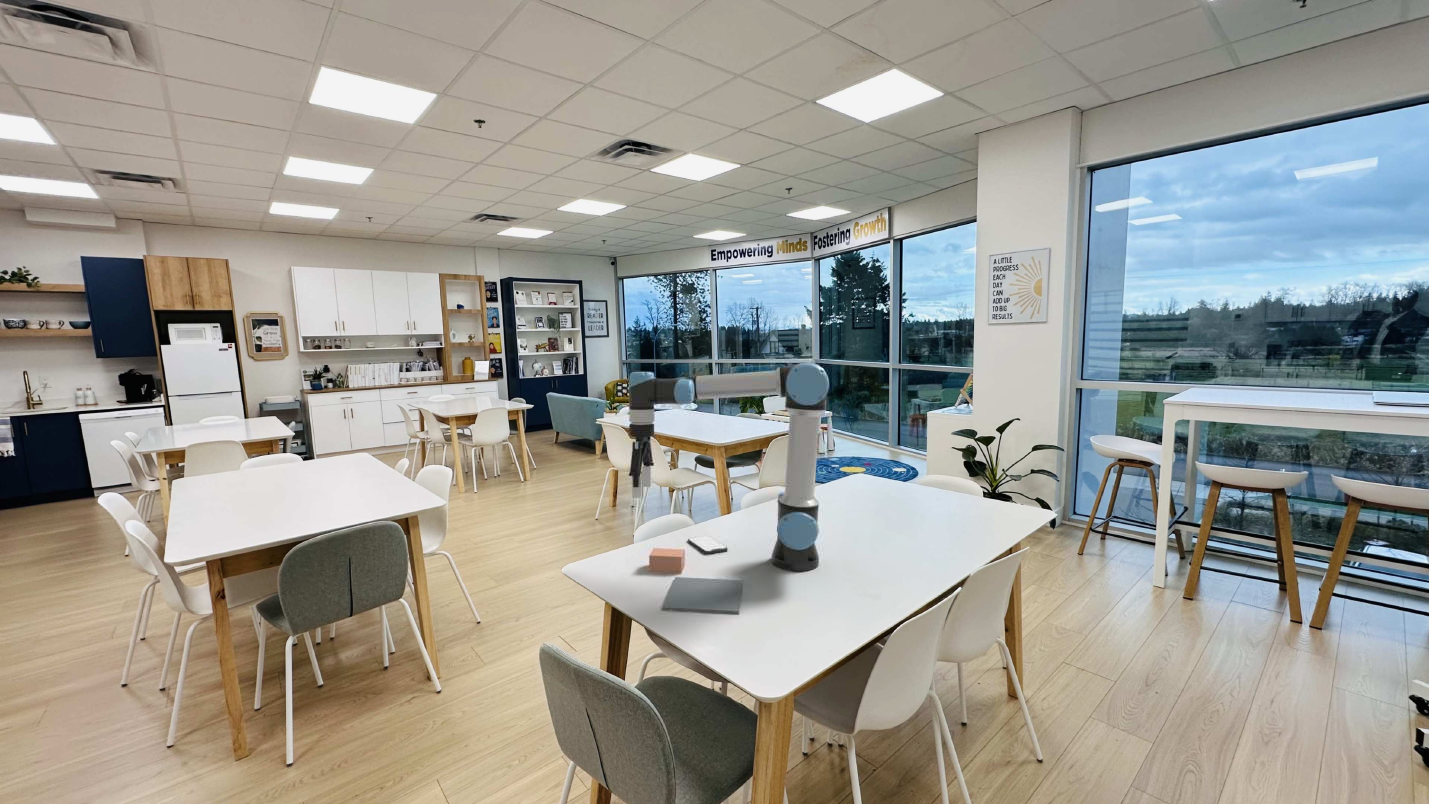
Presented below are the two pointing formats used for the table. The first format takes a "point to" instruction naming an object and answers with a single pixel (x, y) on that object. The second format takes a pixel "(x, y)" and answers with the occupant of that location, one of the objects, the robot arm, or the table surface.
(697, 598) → the mat
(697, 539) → the smartphone
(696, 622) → the table surface
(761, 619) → the table surface
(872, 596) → the table surface
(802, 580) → the table surface
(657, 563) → the card box
